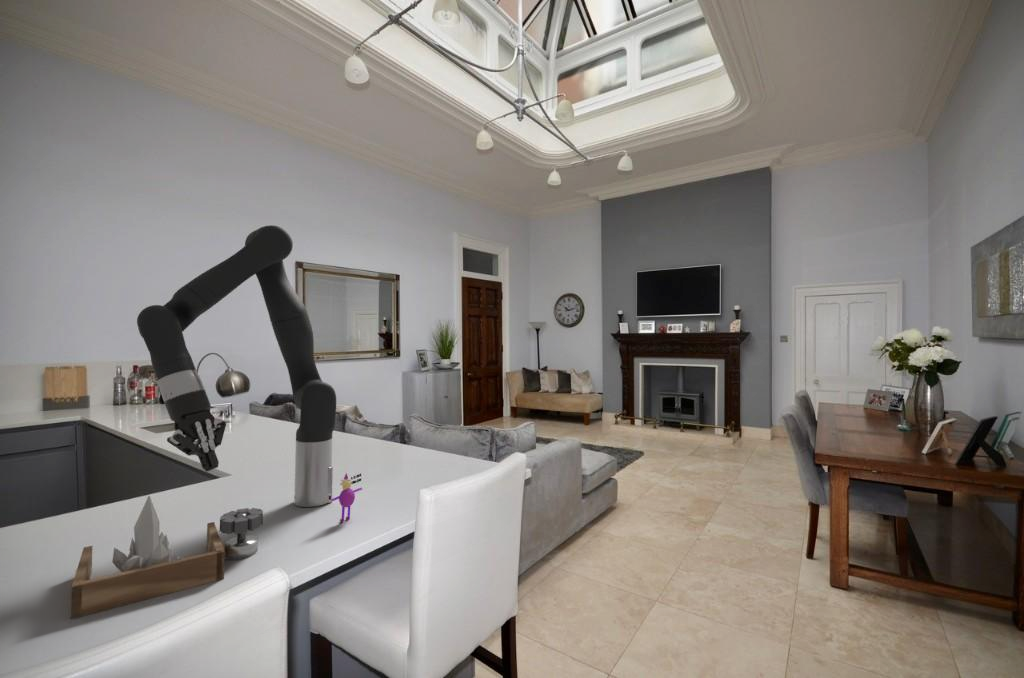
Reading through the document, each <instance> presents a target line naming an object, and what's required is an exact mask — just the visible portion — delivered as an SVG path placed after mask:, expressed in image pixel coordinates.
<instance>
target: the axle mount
mask: <svg viewBox="0 0 1024 678" xmlns="http://www.w3.org/2000/svg"><path fill="white" fill-rule="evenodd" d="M246 516H247V513H240V514H238V518H241V517H246ZM258 541H259V538H258V536H257V535H252V534H250V535H247V532H246V533H240V534H236V536H235V537H232V538H230V539H228V540H226V541H225V542H224V545H223V548H224V551H225V556H224V560H229V561H237V560H242V559H243V560H244V559H247V558H250V557H252V556H254V555H255V554H257V552H258V550H259V548H258V547H259V542H258Z"/></svg>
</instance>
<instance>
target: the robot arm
mask: <svg viewBox="0 0 1024 678" xmlns="http://www.w3.org/2000/svg"><path fill="white" fill-rule="evenodd" d="M244 241H245V242H244V246H243V247H242V248H241V249H239V250H238V251H237V252H235V253H234V254H232V255H231V256H230V257H227V258H226V259H225V260H223V261H222V262H219V263H218V264H216V265H215V266H212V267H211V268H209V269H207V270H206V271H204V272H203V273H200V274H199V275H198V276H197V277H196V276H195V278H193V279H192V280H190V281H189V282H187V283H186V284H184V285H183V286H181V287H180V288H179V289H177V291H175V292H174V293H173V296H172V297H171V299H170V300H168V302H166V303H165V304H163V305H160V304H153V305H149V306H147V307H145V308H143V309H142V310H141V311H140V312H139V314H138V315H137V319H136V323H137V324H136V325H137V328H138V333H139V335H140V337H141V338H142V339H143V341H144V343H145V345H146V347H147V351H148V352H149V355H150V361H151V366H152V369H153V372H154V375H155V377H156V381H157V383H158V389H159V392H160V395H161V397H162V400H163V403H164V405H165V408H166V410H167V414H168V416H169V418H170V421H173V422H174V427H173V428H174V430H175V431H174V432H173V434H172V435H171V436H169V437H167V439H166V441H167V443H169V444H170V445H172V446H173V447H175V448H177V449H178V450H180V451H181V452H182V453H184V454H185V455H187V456H189V457H190V456H196V457H198V459H199V462H200V465H201V467H202V469H203V470H204V471H205V472H210V471H212V470H215V469H218V468H219V463H220V462H219V459H218V456H217V453H216V451H215V450H216V448H217V447H219V446H221V445H222V441H223V438H224V434H225V430H226V427H227V422H226V421H218V420H216V419H215V417H214V415H213V414H212V413H211V409H212V405H211V402H210V399H209V397H208V394H207V392H206V389H205V386H204V385H203V381H202V379H201V377H200V375H199V373H198V372H197V369H196V366H195V364H194V361H193V359H192V356H191V354H190V352H189V350H188V348H187V345H186V341H185V336H184V333H183V332H184V331H185V330H186V329H188V327H189V326H190V325H192V324H193V323H194V322H195V321H196V319H197V318H198V317H200V316H201V315H202V314H205V313H206V312H207V311H209V310H210V309H211V308H213V307H214V306H215V305H217V304H218V303H219V302H220V301H222V300H223V299H224V298H226V297H227V296H228V295H229V294H230V293H232V292H234V290H236V289H237V288H238V287H239V286H240V285H242V284H243V283H244V282H246V281H247V280H248V279H250V278H251V277H253V276H255V275H256V278H257V281H258V283H259V286H260V289H261V292H262V297H263V300H264V304H265V307H266V310H267V313H268V315H269V320H270V323H271V327H272V329H273V333H274V336H275V339H276V341H277V344H278V348H279V350H280V352H281V355H282V357H283V360H284V362H285V366H286V367H287V372H288V377H289V381H290V385H291V393H292V397H293V401H294V404H295V406H296V407H297V408H298V409H299V410H300V416H299V426H298V428H297V429H296V431H295V453H294V454H295V456H294V457H295V458H294V462H295V463H294V464H295V465H294V494H293V496H294V500H293V502H294V503H293V504H294V505H295V506H297V507H300V508H312V507H319V506H323V505H326V504H328V503H329V502H328V500H329V494H331V499H333V483H334V482H333V478H334V476H333V474H334V473H333V471H334V469H333V461H332V460H333V433H334V430H335V426H336V417H337V394H336V391H335V388H333V386H332V385H331V384H330V383H327V382H324V381H323V380H322V378H321V375H320V373H319V370H318V368H317V364H316V361H315V351H314V350H315V349H314V346H315V345H314V344H315V343H314V342H315V341H314V331H313V327H312V324H311V321H310V317H309V313H308V311H307V308H306V306H305V304H304V302H303V301H302V299H301V298H300V297H299V295H298V294H297V292H296V290H295V289H294V288H293V286H292V284H291V283H290V281H289V278H288V276H287V275H288V274H287V272H286V270H285V265H284V260H285V259H286V258H288V256H289V257H290V254H291V253H292V251H293V239H292V236H291V234H290V233H289V232H288V231H287V230H286V229H285V228H283V227H280V226H277V225H271V224H270V225H265V226H261V227H259V228H258V229H255V230H253V231H252V232H250V233H249V234H248V235H247V237H246V238H245V240H244ZM329 504H330V503H329Z"/></svg>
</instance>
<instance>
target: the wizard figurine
mask: <svg viewBox="0 0 1024 678" xmlns="http://www.w3.org/2000/svg"><path fill="white" fill-rule="evenodd" d="M359 477H362V473H359V474H356V475H353V476H351V478H350V477H349V476H348V474H347V472H345V475H344V477H343V478H342V479H340V481H341V483H340V486H342V490H341V492H340V494H339V496H336V497H332V499H331V494H329V500H328V502H329V504H330V503H333V502H334V501H336V500H338V502H339V504H340V506H341V518H340V519H339V522H341V523H343V522H345V519H346V520H350V519H351V506H352V505H353V504H354V501H355V500H356V499H355V498H356V495H355V493H356V492H359V491H363V489H364V487H363V486H360V487H359V488H356V489H354V490H353V489H352V488H351V486H352V485H354V484H356V483H359V482H361V481H362V478H359ZM357 478H358V479H357ZM355 479H356V480H355ZM346 508H347V516H346V517H345V511H346V510H345V509H346Z"/></svg>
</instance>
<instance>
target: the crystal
mask: <svg viewBox="0 0 1024 678" xmlns="http://www.w3.org/2000/svg"><path fill="white" fill-rule="evenodd" d="M160 523H161V522H160V519H159V517H158V514H157V512H156V509H155V507H154V503H153V501H152V498H151V495H148V496H147V499H146V500H145V503H144V505H143V508H142V510H141V512H140V514H139V516H138V517H137V520H136V522H135V524H134V527H133V531H134V532H133V534H134V536H133V537H134V538H133V537H131V541H130V545H129V550H128V551H129V554H128V555H126V554H125V553H124V552H122V551H121V550H119V549H118V548H116V547H113V553H112V563H113V564H114V566H115V567H116V569H118V570H119V571H120V573H122V572H126V571H131V570H135V569H140V568H144V567H148V566H153V565H157V564H161V563H166V562H170V561H174V560H179V559H180V557H179V554H178V553H177V552H176V553H175V554H174V555H173V556H172V549H171V548H170V547H169V545H170V544H169V543H170V542H169V538H168V534H164V532H163V531H161V532H160Z"/></svg>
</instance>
